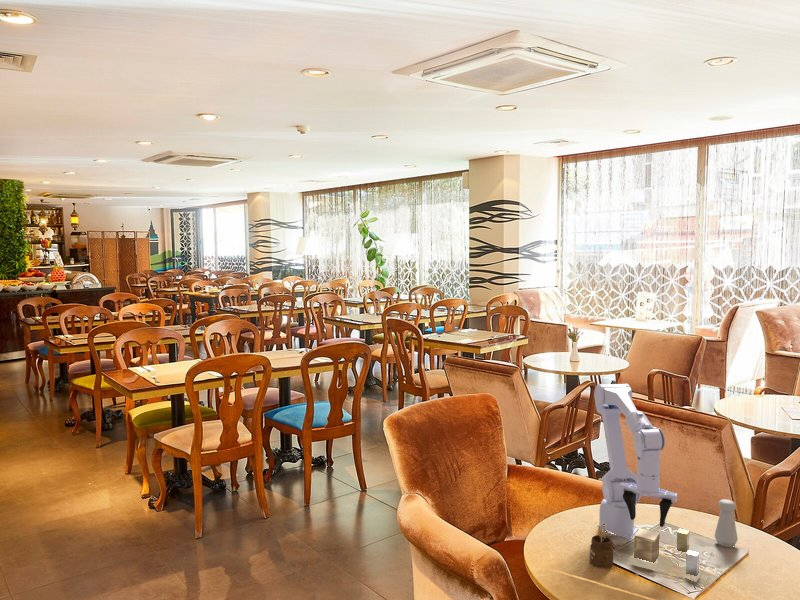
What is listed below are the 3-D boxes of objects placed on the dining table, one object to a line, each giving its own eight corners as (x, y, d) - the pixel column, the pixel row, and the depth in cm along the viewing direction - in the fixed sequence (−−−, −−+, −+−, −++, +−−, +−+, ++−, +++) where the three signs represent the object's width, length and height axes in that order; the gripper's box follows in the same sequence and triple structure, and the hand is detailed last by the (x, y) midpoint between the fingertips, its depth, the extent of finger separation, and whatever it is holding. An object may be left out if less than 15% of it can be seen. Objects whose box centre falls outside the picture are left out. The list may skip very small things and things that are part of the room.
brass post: (676, 551, 179) (677, 531, 178) (678, 547, 181) (679, 528, 181) (686, 553, 177) (687, 534, 177) (688, 549, 179) (689, 530, 179)
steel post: (685, 573, 166) (686, 553, 166) (688, 569, 168) (688, 549, 168) (696, 576, 165) (697, 556, 164) (698, 572, 167) (699, 552, 166)
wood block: (633, 558, 175) (634, 535, 174) (639, 551, 179) (640, 528, 178) (653, 564, 172) (654, 540, 171) (659, 556, 176) (659, 533, 175)
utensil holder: (613, 560, 175) (613, 517, 174) (612, 571, 169) (613, 527, 168) (590, 557, 176) (590, 515, 176) (589, 568, 171) (589, 524, 170)
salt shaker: (739, 551, 179) (741, 505, 178) (717, 549, 180) (719, 504, 179) (733, 541, 185) (734, 497, 184) (712, 540, 186) (713, 496, 185)
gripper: (616, 472, 174) (615, 520, 176) (673, 483, 166) (671, 534, 167) (624, 464, 180) (623, 512, 181) (679, 475, 172) (678, 524, 173)
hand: (647, 522), depth 174 cm, fingers open, 7 cm apart
